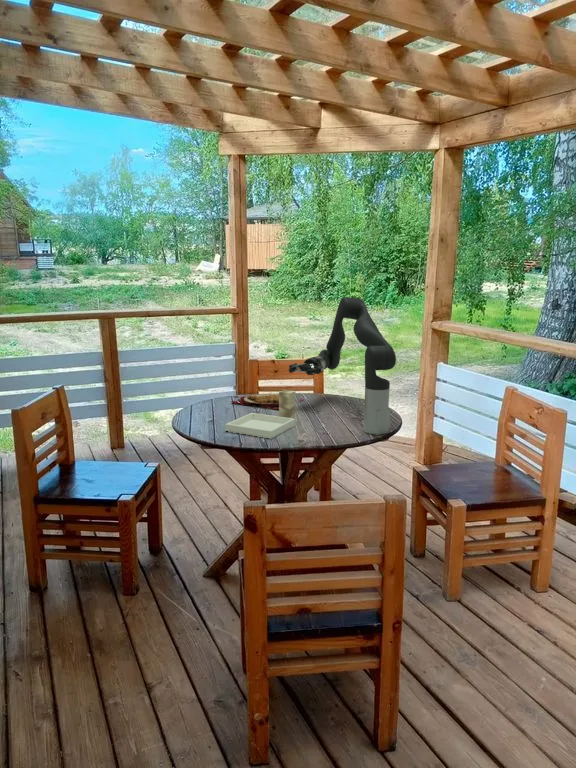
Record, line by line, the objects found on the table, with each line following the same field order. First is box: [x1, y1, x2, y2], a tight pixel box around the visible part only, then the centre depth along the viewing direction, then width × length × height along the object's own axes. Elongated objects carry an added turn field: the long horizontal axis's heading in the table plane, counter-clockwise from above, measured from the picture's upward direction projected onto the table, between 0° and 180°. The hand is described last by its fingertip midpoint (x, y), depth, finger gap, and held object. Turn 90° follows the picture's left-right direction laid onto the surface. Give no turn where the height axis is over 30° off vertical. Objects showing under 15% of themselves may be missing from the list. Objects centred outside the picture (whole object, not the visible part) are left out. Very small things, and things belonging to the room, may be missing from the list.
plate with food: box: [231, 392, 305, 410], centre depth 260 cm, size 25×26×4 cm
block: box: [278, 389, 296, 420], centre depth 227 cm, size 5×5×12 cm
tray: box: [224, 412, 296, 440], centre depth 215 cm, size 20×20×3 cm
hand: (299, 371), depth 234 cm, fingers open, 8 cm apart
